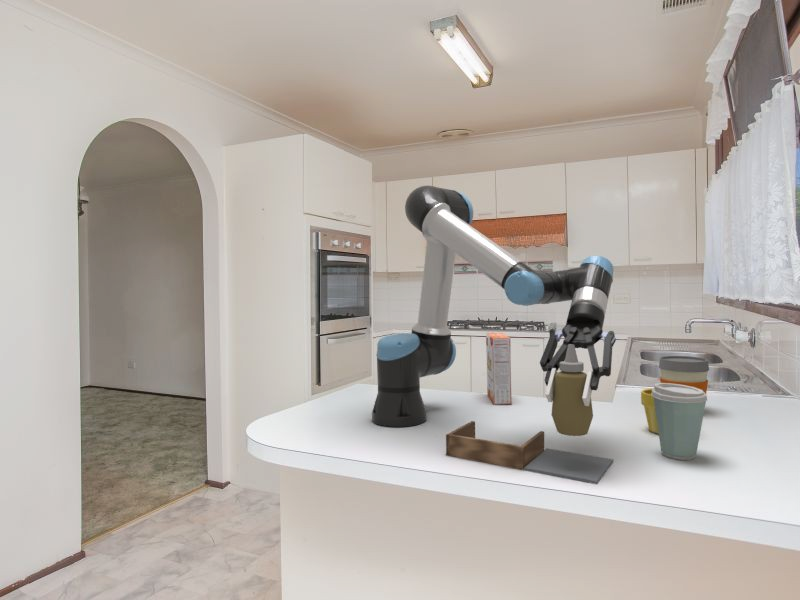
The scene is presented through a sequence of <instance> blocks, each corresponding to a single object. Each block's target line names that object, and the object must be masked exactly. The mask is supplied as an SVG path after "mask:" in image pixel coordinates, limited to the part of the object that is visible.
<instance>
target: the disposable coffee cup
mask: <svg viewBox="0 0 800 600" xmlns="http://www.w3.org/2000/svg"><path fill="white" fill-rule="evenodd" d="M651 389H652V393H651V395H652V396H653V398H654V405H655V412H656V419H657V426H658V433H659V434H658V438H659V446H660V451H661V452H662V455H663V456H665V457H666V458H670V459H674V460H678V461H681V460H682V461H687V460H689V461H690V460H693V459H695V457H696V455H697V453H698V447H699V443H700V435H701V431H702V426H703V419H704V414H705V409H706V404H707V403H706V402H707V401H708V396H707V393H706V394H705V392H703V390H701V389H698V388H695V387H691V386H686V385H680V384H672V383H661V382H657V383H654V385H653V388H651Z"/></svg>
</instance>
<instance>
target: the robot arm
mask: <svg viewBox="0 0 800 600" xmlns="http://www.w3.org/2000/svg"><path fill="white" fill-rule="evenodd" d="M404 210H405V211H404V212H405V216H406V218H407V220H408V221H409V223H410V224H411V225H412V226H413V227H415V228H416V229H417V230H418V231H420V232H421V233H422V237H423V238H424V239H425V240H426V248H425V256H424V257H425V258H424V266H423V276H422V283H421V292H420V300H419V301H420V302H419V307H418V308H419V309H418V310H419V311H418V319H417V323H416V324H414V325H413V326H412V328H411V332H410V333H405V332H403V333H397V334H390V335H386V336H384V337H382V338H380V339H379V340H378V342H377V344H376V345H377V348H376V353H375V354H376V370H377V372H376V373H377V374H376V375H377V394H376V398H375V401H374V405H373V409H372V411H371V421H372V423H374V424H376V425H379V426H383V427H393V428H401V427H412V426H417V425H421V424H423V423H425V422H427V420H428V419H427V418H428V417H427V416H428V415H427V410H426V406H425V404H424V399H423V397H422V394H421V391H420V390H421V389H420V388H421V385H420V383H421V382H420V380H421V378H423V377H428V376H434V375H439V374H440V373H442V372H445V371H447V370H448V369H450V368H451V366H452V365H453V364H454V362H455V359H456V357H457V356H456V355H457V348H456V344H455V343H454V340H453V339H452V338H451V337H452V331H451V330H450V328H449V327H448V318H449V310H450V301H451V294H452V285H453V277H454V271H455V270H454V269H455V268H454V267H455V262H456V255H457V256H459V257H461V258H462V259H463V260H464V261H466V262H467V263H468V264H469V265H471V266H473V267H474V268H475V269H476V270H478V271H479V272H481V273H482V274H483V275H484V276H485V277H487V278H488V279H490V280H491V281H492V282H494V283H495V284H497V285H498V286H499V287H500V288H502V289H503V290H504V293H505V296H506V298H507V300H508V301H510V302H511V303H512V304H514V305H518V306H524V307H525V306H534V305H548V304H553V303H561V302H569V301H571V302H570V306H569V311H568V313H567V314H568V315H567V317H566V322H565V325H564V327H563V328H562V329H561V330H556V329H554V328H551V329H549V331H548V332H549V334H548V335H549V338H548V340H547V342H546V345H545V348H544V350H543V353H542V356H541V357H540V361H539V364H540V367H541V370H542V371H543V372H545V377H544V383H545V385H546V389H545V390H546V391H545V393H544V394H545V398H546V399H547V400H546V401H547V402H548V403H553V397H554V381H555V375H556V374H557V373H558V372H559V370H560V365H559V363H560V362H562V361H565V357H566V353H567V348H568V344H574V346H575V349H580V348H581V349H585V350H587V351H588V356H589V361H590V365H591V369H592V370H587V373H586V374H587V378H586V382H585V387H584V392H583V397H582V399H583V402H584V405H585V406H589V403H590V398H591V399H592V391H597V390H599V384H600V379H601V377H604V376H605V377H610V376H611V374H612V360H613V347H614V345H615V343H616V342H617V339H616V333H615V331H613V330H609V331H603V329H604V327H603V326H604V322H605V316H606V312H607V307H608V303H609V296H610V293H611V292H610V291H611V287H612V284H613V282H614V281H613V280H614V278H613V277H614V266H613V263H612V262H611V260H609V259H608V258H607V257H604V256H601V255H589V256H587V257H586V258H585V259H583V260H582V261H581V263H580V266H579V267H574V268H570V269H564V270H555V271H554V270H553V271H536V270H534V269H533V268H531V267H530V266H528V265H527V264H526V263H524V262H523V261H522V260H520V259H519V258H517V257H516V256H515V255H514V254H512V253H510V252H508V251H507V250H506V249H505V248H503V247H502V246H501V245H499V244H497V243H496V242H495V241H493V240H491V239H490V238H489V237H487V236H486V235H484V234H483V233H482V232H480V231H479V230H477V229H476V228H474V227H473V226H471V225H472V222H473V219H474V208H473V205H472V203H471V201H470V199H469V197H468V196H466V195H465V194H464V193H461V192H459V191H457V190H454V189H448V188H444V187H437V186H433V185H422V186H421V185H420V186H419V187H417V188H415V189H413V190H412V191H411V192H410V193H409V195H408V196H407V199H406V200H405V205H404ZM562 337H563V338H564V339H563V341H562V342H563V343H562V344H561V345H560V347H559V348H558V343H559V342H560V341H561V338H562ZM601 339H602V341H603V351H602V352H603V353H602V366H600V365H599V362H598V361H599V360H598V359H597V358H598V357H597V353H596V349H595V344H596V343H598V342H599V341H600V340H601ZM557 348H558V350H557V351H556V349H557Z"/></svg>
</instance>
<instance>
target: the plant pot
mask: <svg viewBox="0 0 800 600" xmlns="http://www.w3.org/2000/svg"><path fill="white" fill-rule="evenodd" d="M652 389H653V388H645V389H644V388H643V389H642V390H641V391H640V401H641V402H640V403H641V405H642V406H643V408H644V413H645V418H646V421H647V426H648V427H647V428H648V431H650V432H651V433H654V434H657V435H659V433H658V426H657V419H656V412H655V405H654V398H653V396H652V395H651V393H652Z"/></svg>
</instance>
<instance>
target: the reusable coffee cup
mask: <svg viewBox="0 0 800 600" xmlns="http://www.w3.org/2000/svg"><path fill="white" fill-rule="evenodd" d="M709 365H710V364H709V360H708V358H704V357H698V356H686V355H666V356H664V355H663V356H660V357H659V362H658V369H659V370H660V377H659V383H672V384H680V385H686V386H691V387H695V388H698V389H701V390H703V392H705V394H706V395H707V390H708V385H709V380H708V378H707V377H708V373H709V372H710V366H709Z"/></svg>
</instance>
